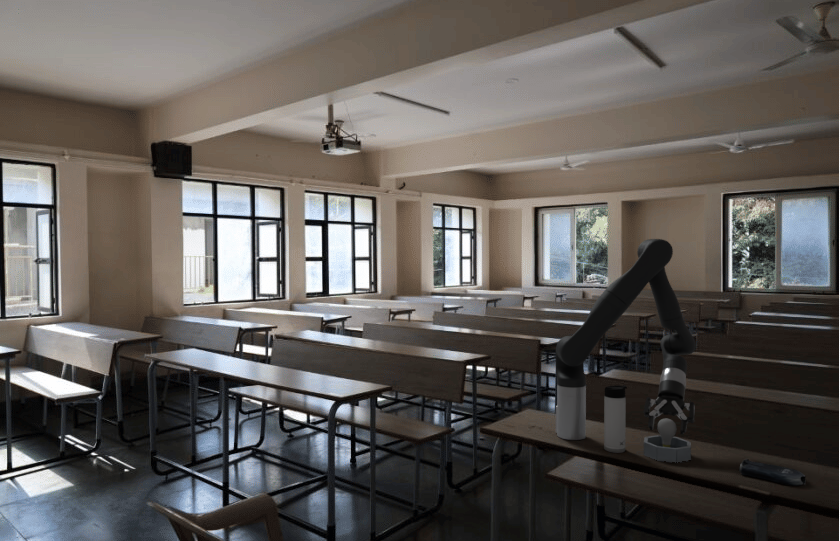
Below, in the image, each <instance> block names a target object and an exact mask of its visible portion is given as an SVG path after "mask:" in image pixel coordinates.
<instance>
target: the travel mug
mask: <svg viewBox="0 0 840 541" xmlns="http://www.w3.org/2000/svg"><path fill="white" fill-rule="evenodd" d="M626 390H627V385H619V384H618V385H616V384H615V385H609V386H605V387H604V395H603V396H604V397H603V398H604V400H603V401H604V403H603V404H604V405H603V406H604V413H603V414H604V415H603V416H604V419H603V420H604V422H603V423H604V424H603V426H604V428H603V429H604V430H603V432H604V433H603V435H604V436H603V437H604V438H603V448H604V451H606V452H609V453H613V454H614V453H615V454H620V453H624V452H625V451H626V416H627V415H626V414H627V413H626V405H627V404H626Z"/></svg>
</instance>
